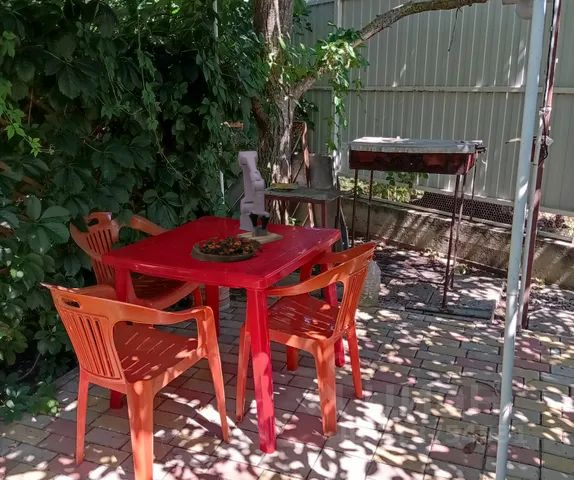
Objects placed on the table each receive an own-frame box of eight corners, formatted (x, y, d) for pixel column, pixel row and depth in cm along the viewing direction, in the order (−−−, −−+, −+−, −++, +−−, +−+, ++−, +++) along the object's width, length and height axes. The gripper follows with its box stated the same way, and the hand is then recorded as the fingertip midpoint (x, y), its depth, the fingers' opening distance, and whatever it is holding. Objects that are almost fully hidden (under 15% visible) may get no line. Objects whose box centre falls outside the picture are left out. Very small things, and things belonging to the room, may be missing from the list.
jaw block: (253, 235, 312) (253, 226, 311) (262, 233, 316) (262, 224, 315) (258, 236, 310) (258, 227, 308) (267, 234, 314) (266, 225, 312)
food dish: (250, 243, 308) (250, 229, 306) (271, 261, 278) (271, 245, 276) (183, 248, 295) (183, 233, 293) (198, 268, 266) (198, 251, 264)
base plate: (237, 237, 315) (236, 227, 313) (259, 232, 325) (259, 222, 324) (259, 244, 301) (259, 233, 300) (282, 238, 312) (282, 228, 310)
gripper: (244, 202, 311) (245, 227, 314) (262, 206, 301) (262, 231, 304) (254, 200, 315) (255, 225, 319) (272, 204, 305) (272, 229, 309)
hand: (259, 228), depth 312 cm, fingers open, 7 cm apart
